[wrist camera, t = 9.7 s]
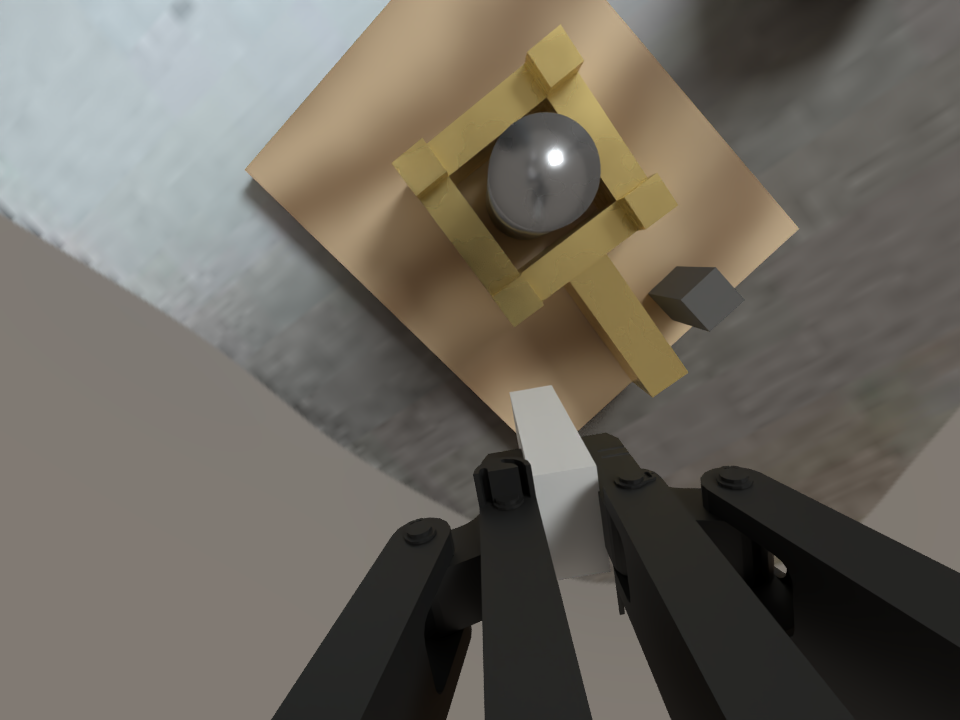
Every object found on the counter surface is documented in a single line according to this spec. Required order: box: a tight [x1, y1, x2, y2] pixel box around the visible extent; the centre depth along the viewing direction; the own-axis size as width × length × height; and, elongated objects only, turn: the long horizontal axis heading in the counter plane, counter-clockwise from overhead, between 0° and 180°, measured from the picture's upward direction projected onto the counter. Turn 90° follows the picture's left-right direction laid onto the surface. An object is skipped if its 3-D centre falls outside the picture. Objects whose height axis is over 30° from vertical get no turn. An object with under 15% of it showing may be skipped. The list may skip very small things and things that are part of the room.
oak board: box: [245, 0, 799, 432], centre depth 26 cm, size 22×18×1 cm
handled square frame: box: [392, 24, 688, 397], centre depth 23 cm, size 15×8×5 cm, turn 37°
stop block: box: [648, 266, 745, 332], centre depth 24 cm, size 2×2×4 cm
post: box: [486, 112, 601, 240], centre depth 22 cm, size 4×4×9 cm
